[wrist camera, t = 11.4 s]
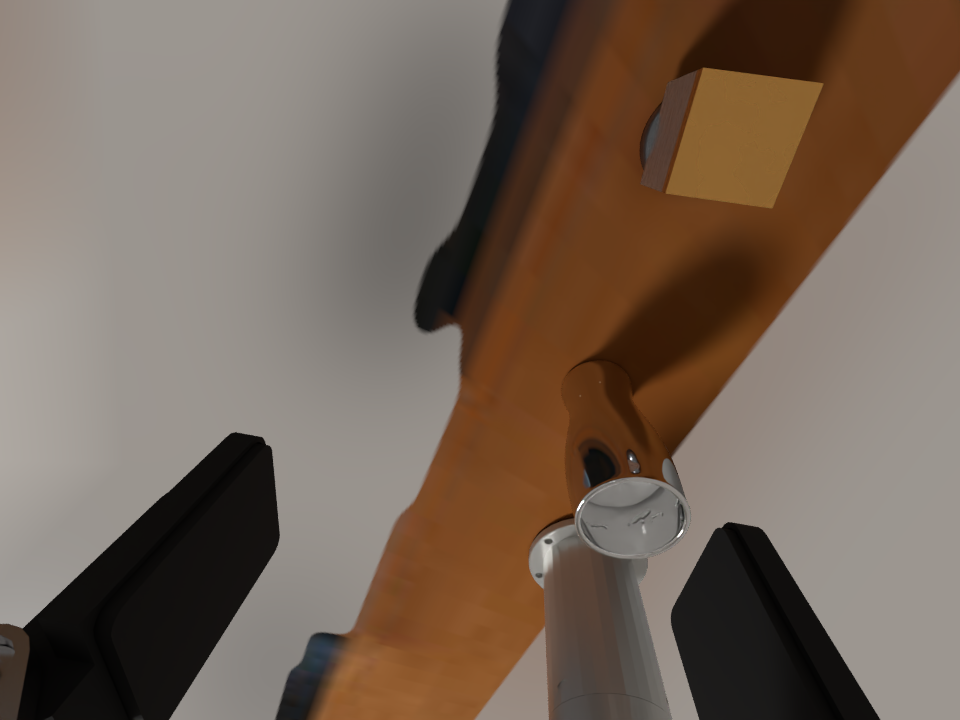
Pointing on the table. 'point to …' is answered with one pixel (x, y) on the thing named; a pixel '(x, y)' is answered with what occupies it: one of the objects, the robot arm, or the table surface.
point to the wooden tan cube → (728, 135)
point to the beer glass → (618, 468)
